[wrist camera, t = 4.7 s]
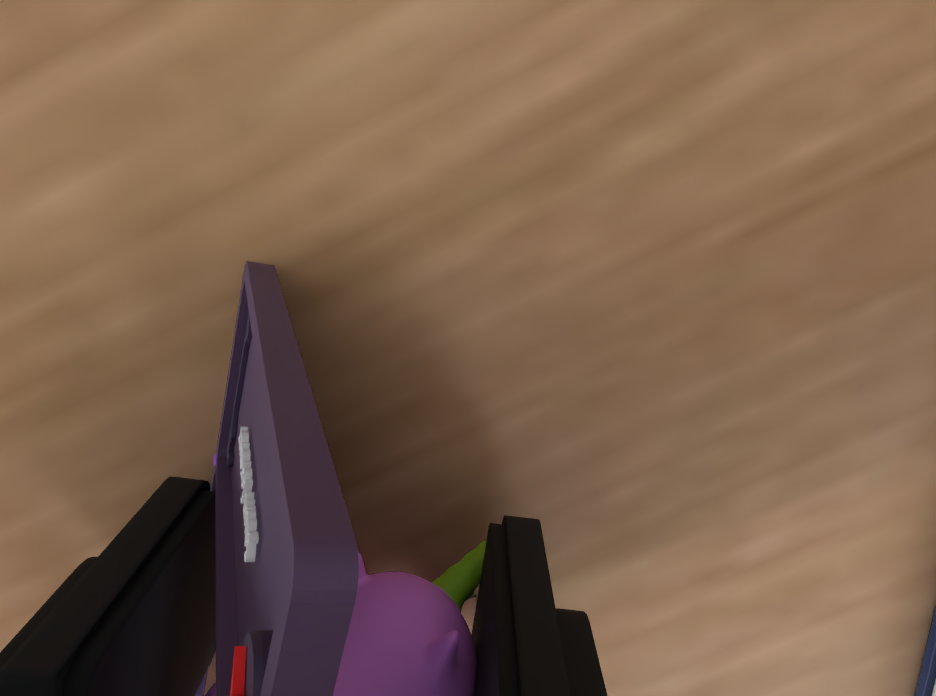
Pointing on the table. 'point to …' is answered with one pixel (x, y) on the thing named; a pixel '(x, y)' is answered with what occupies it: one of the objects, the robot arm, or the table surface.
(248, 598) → the purple toy package
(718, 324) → the table surface
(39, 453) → the table surface
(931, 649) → the notebook
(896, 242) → the table surface
